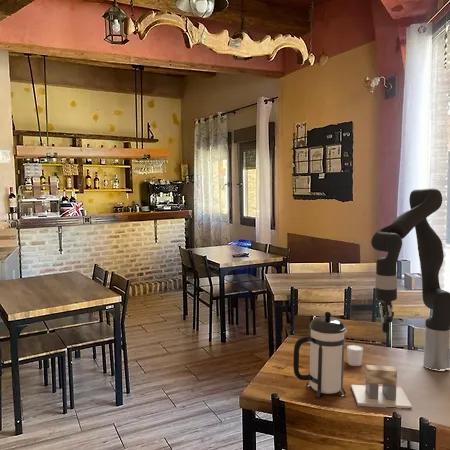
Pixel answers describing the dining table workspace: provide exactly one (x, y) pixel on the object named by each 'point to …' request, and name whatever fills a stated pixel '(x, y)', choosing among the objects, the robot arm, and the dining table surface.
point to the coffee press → (324, 355)
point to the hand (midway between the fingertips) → (385, 331)
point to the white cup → (354, 355)
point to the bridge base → (380, 396)
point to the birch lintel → (381, 374)
